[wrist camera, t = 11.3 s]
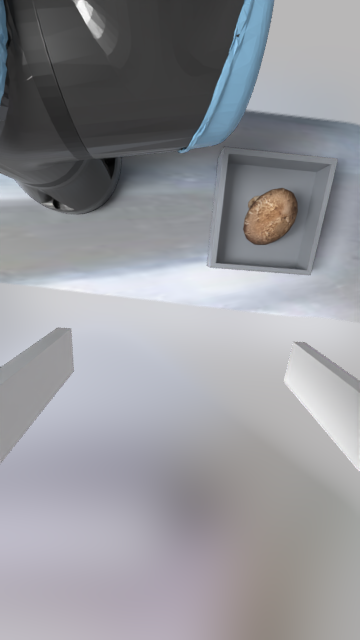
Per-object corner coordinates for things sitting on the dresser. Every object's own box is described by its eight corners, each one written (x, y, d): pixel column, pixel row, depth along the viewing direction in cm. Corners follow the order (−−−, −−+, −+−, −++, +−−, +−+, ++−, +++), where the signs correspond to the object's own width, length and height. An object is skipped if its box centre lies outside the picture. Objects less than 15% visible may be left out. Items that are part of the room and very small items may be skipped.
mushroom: (241, 178, 32) (271, 195, 28) (285, 179, 35) (317, 194, 31) (226, 234, 37) (248, 255, 33) (264, 231, 40) (289, 249, 36)
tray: (206, 265, 39) (210, 267, 35) (218, 158, 34) (224, 146, 30) (296, 272, 39) (310, 275, 36) (319, 168, 35) (337, 158, 31)
